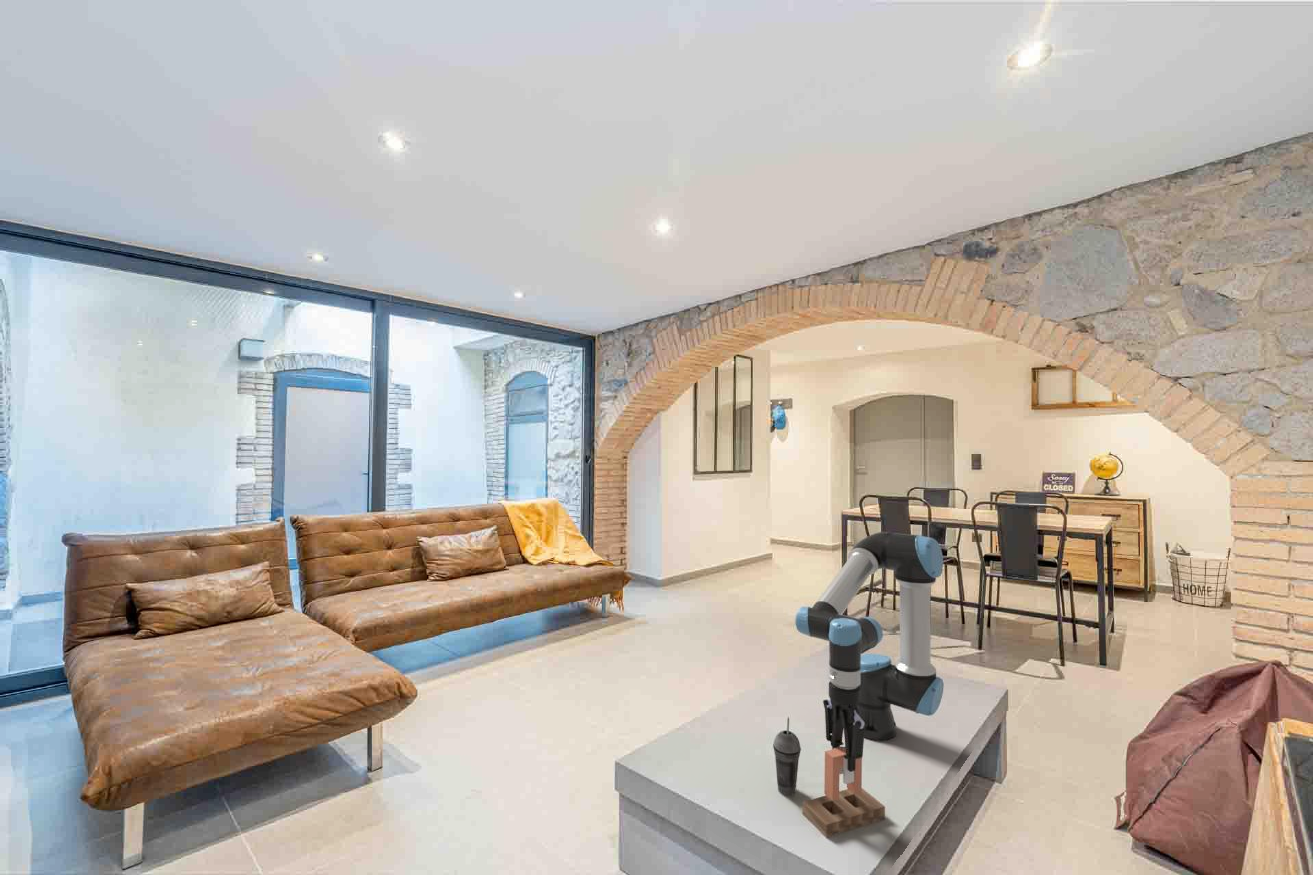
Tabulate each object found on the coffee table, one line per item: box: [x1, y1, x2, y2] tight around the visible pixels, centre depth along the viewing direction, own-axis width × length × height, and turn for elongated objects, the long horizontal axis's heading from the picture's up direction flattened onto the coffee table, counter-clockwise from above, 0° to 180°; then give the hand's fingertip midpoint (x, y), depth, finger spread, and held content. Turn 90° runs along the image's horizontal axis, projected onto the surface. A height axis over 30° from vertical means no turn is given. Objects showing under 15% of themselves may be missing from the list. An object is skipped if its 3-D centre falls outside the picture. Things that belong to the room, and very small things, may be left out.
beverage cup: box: [772, 717, 802, 797], centre depth 151 cm, size 7×7×20 cm
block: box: [823, 746, 863, 801], centre depth 141 cm, size 9×3×10 cm, turn 112°
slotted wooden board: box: [802, 787, 886, 838], centre depth 141 cm, size 18×9×3 cm, turn 112°
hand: (843, 777), depth 141 cm, fingers closed on block, 3 cm apart
